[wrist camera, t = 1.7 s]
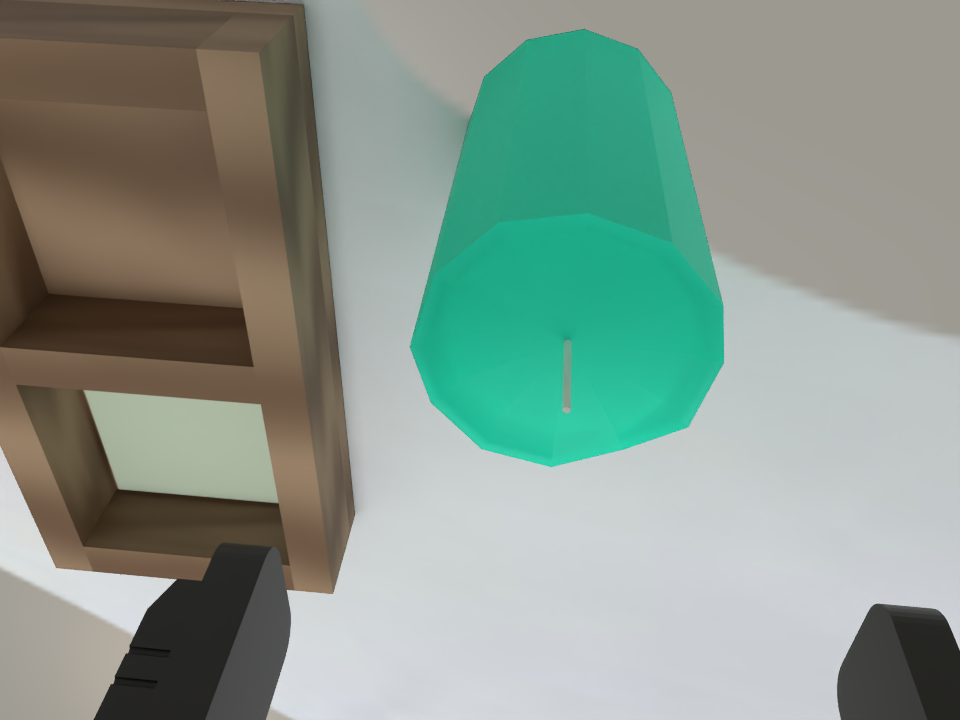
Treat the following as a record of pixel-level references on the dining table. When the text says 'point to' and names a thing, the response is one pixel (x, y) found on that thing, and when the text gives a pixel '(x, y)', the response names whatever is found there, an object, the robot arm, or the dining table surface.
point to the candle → (571, 262)
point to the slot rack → (168, 288)
